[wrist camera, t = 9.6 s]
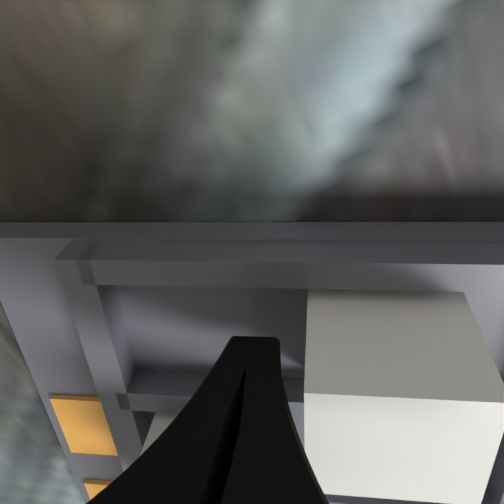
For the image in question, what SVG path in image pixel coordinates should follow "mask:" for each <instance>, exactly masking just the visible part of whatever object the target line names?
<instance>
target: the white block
mask: <svg viewBox="0 0 504 504" xmlns="http://www.w3.org/2000/svg"><path fill="white" fill-rule="evenodd" d="M503 432H504V383H503V380H502V378H501V376H500V374H499V371H498V369H497V367H496V365H495V362H494V360H493V358H492V356H491V353H490V351H489V349H488V346H487V344H486V342H485V340H484V337H483V335H482V333H481V331H480V328H479V326H478V324H477V322H476V319H475V317H474V315H473V312H472V310H471V308H470V306H469V303H468V301H467V299H466V297H465V294H464V292H436V291H384V290H331V289H308V300H307V326H306V351H305V377H304V446H305V453H306V455H307V458H308V460H309V463H310V465H311V467H312V469H313V472H314V474H315V476H316V478H317V480H318V483H319V485H320V487H321V489H322V491H323V492H324V494H332V495H345V496H358V497H370V498H383V499H396V500H408V501H421V502H434V503H446V504H481V502H482V499H483V496H484V493H485V490H486V487H487V483H488V480H489V477H490V474H491V471H492V467H493V464H494V461H495V458H496V455H497V452H498V448H499V445H500V442H501V439H502V436H503Z"/></svg>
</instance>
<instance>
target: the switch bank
mask: <svg viewBox="0 0 504 504" xmlns="http://www.w3.org/2000/svg"><path fill="white" fill-rule="evenodd" d="M308 289H331V290H384V291H436V292H464V294H465V297H466V299H467V301H468V303H469V306H470V308H471V310H472V312H473V315H474V317H475V319H476V322H477V324H478V326H479V328H480V331H481V333H482V335H483V337H484V340H485V342H486V344H487V346H488V349H489V351H490V353H491V356H492V358H493V360H494V362H495V365H496V367H497V369H498V371H499V374H500V376H501V378H502V380H503V383H504V222H0V301H1V303H2V306H3V308H4V311H5V313H6V315H7V318H8V320H9V322H10V325H11V327H12V330H13V332H14V334H15V337H16V339H17V342H18V344H19V346H20V349H21V351H22V354H23V356H24V358H25V361H26V363H27V365H28V368H29V370H30V373H31V375H32V377H33V380H34V382H35V385H36V387H37V389H38V392H39V394H40V397H41V399H42V401H43V404H44V406H45V409H46V411H47V413H48V416H49V418H50V420H51V423H52V425H53V428H54V430H55V432H56V435H57V437H58V440H59V442H60V444H61V447H62V449H63V452H64V454H65V456H66V459H67V461H68V463H69V466H70V468H71V471H72V473H73V475H74V478H75V480H76V483H77V485H78V487H79V490H80V492H81V495H82V497H83V499H84V502H85V504H86V503H87V502H89V501H90V500H91V499H92V498H93V497H95V496H96V495H97V494H98V493H99V492H101V491H102V490H103V489H104V488H105V487H107V486H108V485H109V484H110V483H111V482H113V481H114V480H115V479H116V478H117V477H118V476H119V475H120V474H122V473H123V472H124V471H125V470H126V469H127V468H128V467H129V466H130V465H131V464H132V463H133V462H134V461H135V460H136V459H137V458H138V457H139V456H140V453H141V451H142V448H143V445H144V443H145V440H146V437H147V435H148V432H149V429H150V426H151V424H152V421H153V418H154V416H155V413H156V412H164V413H179V412H180V411H181V410H182V409H183V407H184V406H185V405H186V404H187V402H188V401H189V400H190V399H191V397H192V396H193V395H194V393H195V392H196V391H197V389H198V388H199V386H200V385H201V383H202V382H203V381H204V379H205V378H206V376H207V375H208V373H209V372H210V370H211V369H212V367H213V366H214V364H215V363H216V361H217V360H218V358H219V356H220V355H221V353H222V351H223V350H224V348H225V346H226V344H227V343H228V341H229V339H230V338H231V337H232V336H256V337H276V338H277V339H278V340H280V354H281V374H282V380H283V384H284V388H285V392H286V396H287V400H288V404H289V407H290V411H291V414H292V417H293V420H294V423H295V426H296V429H297V432H298V435H299V438H300V440H301V443H302V445H303V448H304V450H305V446H304V377H305V351H306V326H307V300H308ZM325 496H326V498H327V500H328V502H329V504H446V503H434V502H421V501H408V500H396V499H383V498H370V497H358V496H345V495H332V494H325ZM481 504H504V432H503V436H502V439H501V442H500V445H499V448H498V452H497V455H496V458H495V461H494V464H493V467H492V471H491V474H490V477H489V480H488V483H487V487H486V490H485V493H484V496H483V499H482V502H481Z"/></svg>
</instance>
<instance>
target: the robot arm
mask: <svg viewBox="0 0 504 504" xmlns="http://www.w3.org/2000/svg"><path fill="white" fill-rule="evenodd" d="M86 504H329V502H328V500H327V498H326V496H325V494H324V492H323V491H322V489H321V487H320V485H319V483H318V480H317V478H316V476H315V474H314V472H313V469H312V467H311V465H310V463H309V460H308V458H307V455H306V453H305V450H304V448H303V445H302V443H301V440H300V438H299V435H298V432H297V429H296V426H295V423H294V420H293V417H292V414H291V411H290V407H289V404H288V400H287V396H286V392H285V388H284V384H283V380H282V374H281V354H280V340H278V339H277V338H276V337H256V336H232V337H231V338H230V339H229V341H228V343H227V344H226V346H225V348H224V350H223V351H222V353H221V355H220V356H219V358H218V360H217V361H216V363H215V364H214V366H213V367H212V369H211V370H210V372H209V373H208V375H207V376H206V378H205V379H204V381H203V382H202V383H201V385H200V386H199V388H198V389H197V391H196V392H195V393H194V395H193V396H192V397H191V399H190V400H189V401H188V402H187V404H186V405H185V406H184V407H183V409H182V410H181V411H180V412H179V414H178V415H177V416H176V417H175V419H174V420H173V421H172V422H171V423H170V425H169V426H168V427H167V428H166V429H165V430H164V431H163V432H162V434H161V435H160V436H159V437H158V438H157V439H156V440H155V441H154V442H153V443H152V444H151V445H150V446H149V447H148V449H147V450H146V451H145V452H143V453H142V454H141V455H140V456H139V457H138V458H137V459H136V460H135V461H134V462H133V463H132V464H131V465H130V466H129V467H128V468H127V469H126V470H125V471H124V472H123V473H122V474H120V475H119V476H118V477H117V478H116V479H115V480H114V481H113V482H111V483H110V484H109V485H108V486H107V487H105V488H104V489H103V490H102V491H101V492H99V493H98V494H97V495H96V496H95V497H93V498H92V499H91V500H90V501H89V502H87V503H86Z"/></svg>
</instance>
